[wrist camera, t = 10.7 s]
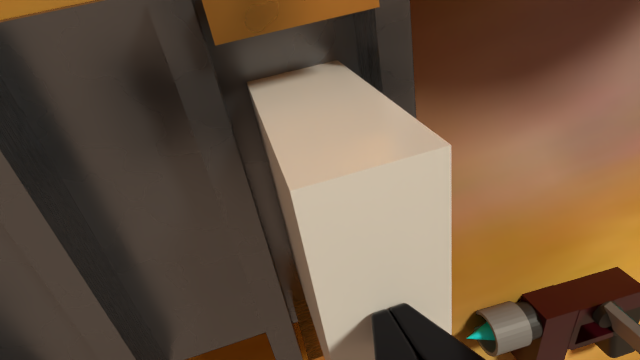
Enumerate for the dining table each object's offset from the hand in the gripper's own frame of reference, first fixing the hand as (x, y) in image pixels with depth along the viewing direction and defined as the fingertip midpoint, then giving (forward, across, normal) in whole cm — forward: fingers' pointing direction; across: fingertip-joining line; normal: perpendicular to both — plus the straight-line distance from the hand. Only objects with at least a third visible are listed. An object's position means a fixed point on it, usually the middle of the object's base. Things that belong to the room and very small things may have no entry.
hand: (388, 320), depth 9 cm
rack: (+8, +6, 0) cm, 10 cm away
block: (+7, 0, 0) cm, 7 cm away
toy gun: (+8, -12, +16) cm, 22 cm away
